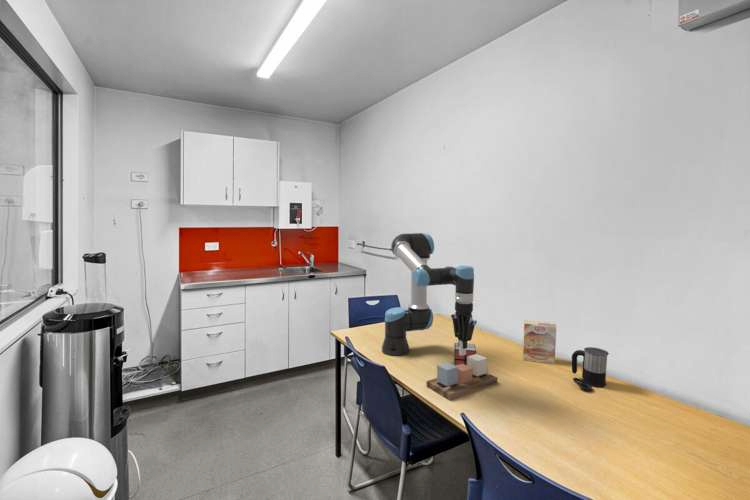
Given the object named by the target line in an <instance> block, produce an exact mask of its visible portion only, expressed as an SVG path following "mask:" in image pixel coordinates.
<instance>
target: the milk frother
mask: <svg viewBox="0 0 750 500" xmlns="http://www.w3.org/2000/svg"><path fill="white" fill-rule="evenodd" d="M609 354H610V353H609V352H608V351H607V350H604V349H602V348H599V347H591V346H589V347H584V348H583V350H582V349H578V350H575V351H574V352H573V353H572V355H571V372H572V374H576V373H577V372H578V356H582V357H583V359H582V374H581V377H582V378H577V377H573V378H572V380H573V382H574V383H575V384H576V385H577V386H578V387H580V388H581V389H583V390H584V391H589V392H591V391H592V390H593V387H594V388H604V387H606V386H607V384H606V381H607V379H606V377H607V364H608V355H609Z"/></svg>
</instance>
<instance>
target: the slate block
mask: <svg viewBox="0 0 750 500" xmlns="http://www.w3.org/2000/svg"><path fill="white" fill-rule="evenodd" d="M436 372H437V373H436V374H437V376H436V378H437V381H438V382H440V383H442V384H443V385H445V386H444V387H451V386H450V385H453V384H456V383H458V367H457V366H455V365H454V363H453V364H452V363H450V362H448V361H447V362H443V363H441V364H437V369H436Z"/></svg>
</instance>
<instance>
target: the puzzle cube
mask: <svg viewBox="0 0 750 500" xmlns="http://www.w3.org/2000/svg"><path fill="white" fill-rule="evenodd" d="M453 346H454V351H453V352H454V355H453V365H455V366H456V365H459V364H465V365H467V357H468V356H471V355H475V354H477V350H476V348H477V347H476V345H475V343H467V348H466V355H463V356H461V355H459V346H458V342H454V344H453Z"/></svg>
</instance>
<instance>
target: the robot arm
mask: <svg viewBox="0 0 750 500" xmlns="http://www.w3.org/2000/svg"><path fill="white" fill-rule="evenodd" d="M434 242H435V241H434V239H433V237H432V236H431V235H430V234H429V233H426V232H425V233H424V232H423V233H422V232H421V233H420V232H419V233H417V232H415V233H413V232H412V233H401V234H398V235H397V236H395V237H394V239H393V240H392V241H391V246H390V247H391V252H392V254H393V255H394V256H395V257H396V258H397V259H400V260H401V261H402V263H404V265H405V266H406V267H407V268H408V270H409V271H410V272H411V275H410V278H411V280H410V282H411V285H410V288H411V289H410V303H409V305H408V309H407V308H405V307H401V306H400V307H398V306H397V307H391V308H389V309H387V310H386V311H385V313H384V315H385V316H384V317H385V318H384V340H383V342H382V344H381V345H382V346H381V352H382V353H383V354H385V355H386V356H387V355H388V356H400V357H401V356H404V355H407V354H409V352H410V346H409V342H408V340H407V332H416V331H424V330H425V331H426V330H428V329H430V328H431V327H432V325H433V323H434V314H433V311H432V309H431V308H430V305H428V304H427V300H428V299H427V298H428V297H427V296H428V295H427V294H428V291H427V289H428V287H429V286H443V285H444V286H448V285H453V286H455V293H454V297H455V298H454V299H455V302H454V310H455V313H454V314H451V315H450V316H451V317H450V318H451V319H452V324H453V332H454V333H453V334H454V337H455V338H457V340H458V342H457V343H458V346H459V355H461V356H463V355H466V348H467V344H468V342H469V341H472V339H473V335H474V331H475V326H476V324H477V322H478V321H477V320H476V319H474V318H473V315H472V313H473V310H474V303H473V302H474V287H475V286H474V284H475V269H474V267H473V266H470V265H458V266H456V267H454V266H448V265H447V266H445V267H435V268H431V267H430V266H428V260H430V259H431V255H432V254H434V251H435V243H434Z"/></svg>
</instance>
